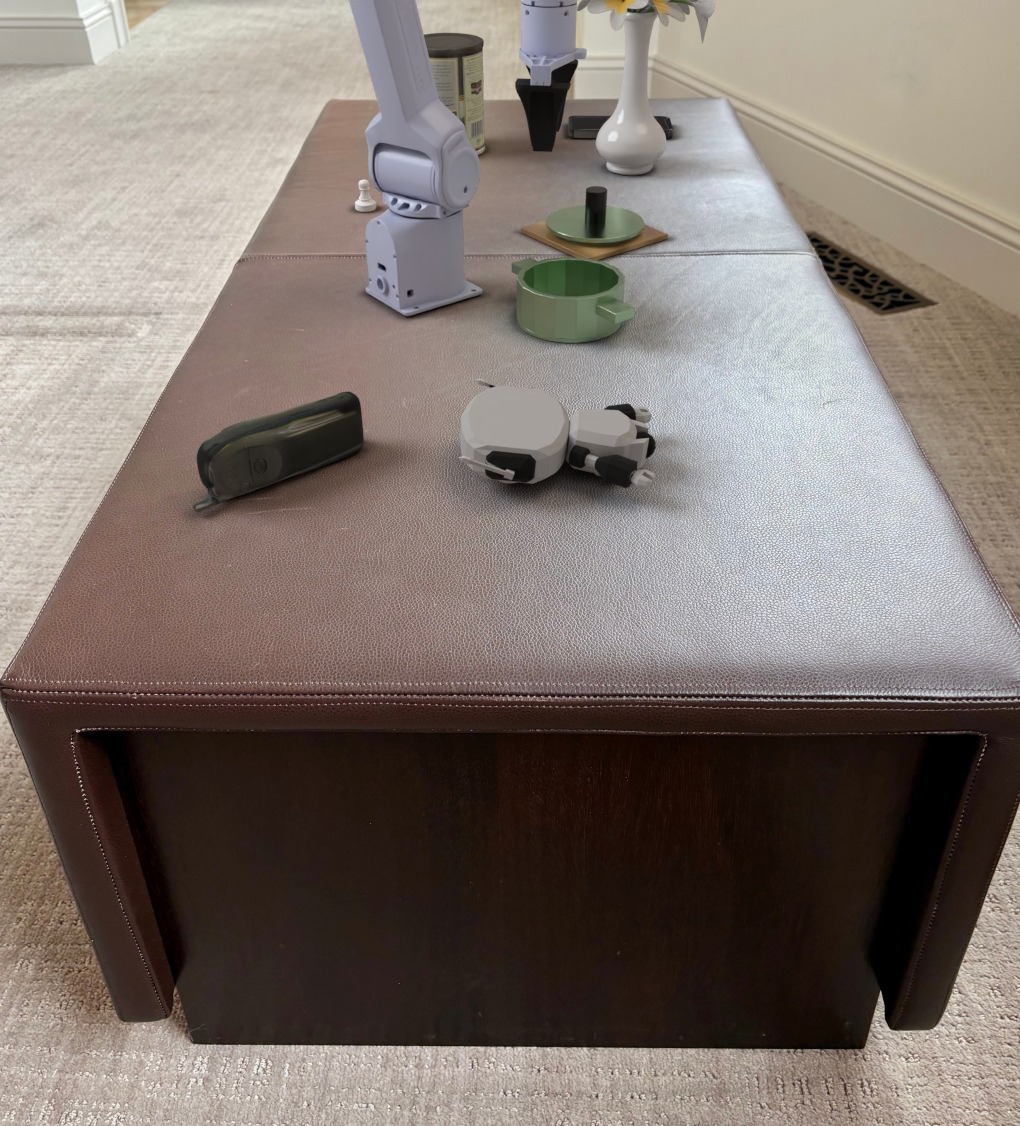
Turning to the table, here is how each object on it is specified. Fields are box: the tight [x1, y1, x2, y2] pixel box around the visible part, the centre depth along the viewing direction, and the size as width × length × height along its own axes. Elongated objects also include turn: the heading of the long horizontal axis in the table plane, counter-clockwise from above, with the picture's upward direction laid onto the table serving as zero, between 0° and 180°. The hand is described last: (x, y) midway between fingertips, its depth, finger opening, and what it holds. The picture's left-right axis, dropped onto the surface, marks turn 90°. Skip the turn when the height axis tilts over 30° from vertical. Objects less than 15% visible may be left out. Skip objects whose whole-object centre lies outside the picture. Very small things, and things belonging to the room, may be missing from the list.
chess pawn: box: [354, 179, 377, 213], centre depth 129 cm, size 3×3×4 cm
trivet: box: [520, 220, 669, 261], centre depth 123 cm, size 12×12×1 cm
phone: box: [567, 115, 674, 140], centre depth 156 cm, size 8×1×15 cm
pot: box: [511, 256, 636, 344], centre depth 103 cm, size 10×16×4 cm, turn 37°
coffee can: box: [423, 32, 486, 156], centre depth 146 cm, size 10×10×14 cm
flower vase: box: [577, 0, 717, 176], centre depth 135 cm, size 13×18×25 cm
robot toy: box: [457, 378, 657, 490], centre depth 82 cm, size 12×4×15 cm
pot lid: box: [545, 185, 645, 243], centre depth 121 cm, size 11×11×5 cm
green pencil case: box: [192, 391, 365, 513], centre depth 80 cm, size 5×3×15 cm
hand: (546, 140), depth 117 cm, fingers open, 7 cm apart
